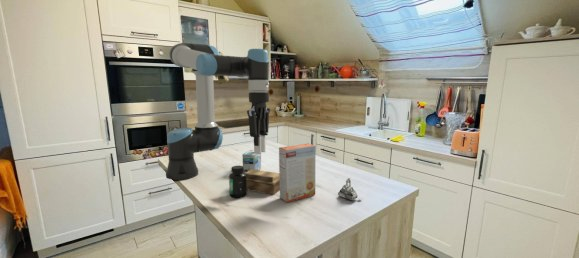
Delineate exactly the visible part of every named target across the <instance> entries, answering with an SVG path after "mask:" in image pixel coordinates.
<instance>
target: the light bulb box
mask: <svg viewBox="0 0 579 258" xmlns="http://www.w3.org/2000/svg"><path fill="white" fill-rule="evenodd" d="M241 155H242V166H243V167H244V173H246V172H248V171H250V170H252V169H253V170H260V171H262V153H261V154H254V149H249V150H247V151H245V152H244V153H242V154H241Z"/></svg>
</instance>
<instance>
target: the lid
mask: <svg viewBox="0 0 579 258" xmlns="http://www.w3.org/2000/svg"><path fill="white" fill-rule="evenodd" d="M245 174H246V180H248V181H254V182H261V183H267V184H273V185H274V184H276V183H277V182H279V181H280V177H279V172H273V171H272V172H271V171H266V170H253V169H252V170H250V171H248V172H246V173H245Z"/></svg>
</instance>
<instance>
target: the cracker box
mask: <svg viewBox="0 0 579 258" xmlns="http://www.w3.org/2000/svg"><path fill="white" fill-rule="evenodd" d="M278 163H279V164H278V167H279V168H278V173H279V177H280V190H279V198H280V199H281V200H282V201H284V202H285V203H290V202H294V201H298V200H301V199H302V200H303V199H305V198H309V197H312V196H316V145H314V144H311V143H302V144H294V145H289V146H288V145H287V146H282V147H281V146H280V147H278Z"/></svg>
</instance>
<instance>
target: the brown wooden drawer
mask: <svg viewBox="0 0 579 258" xmlns="http://www.w3.org/2000/svg"><path fill="white" fill-rule="evenodd" d="M247 191H251V192H257V193H263V194H269V195H276V194H277V193H278V192H280V181H279V182H277V183H276V184H274V185H273V184H267V183H261V182H254V181H248V180H247Z"/></svg>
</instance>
